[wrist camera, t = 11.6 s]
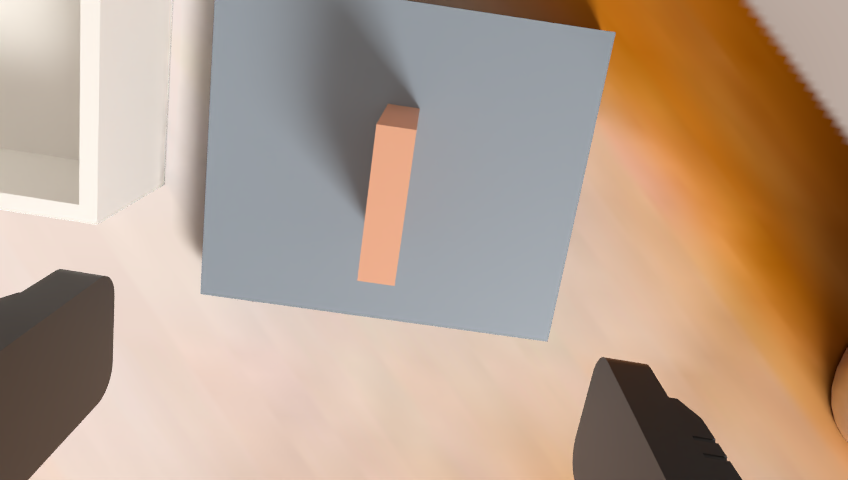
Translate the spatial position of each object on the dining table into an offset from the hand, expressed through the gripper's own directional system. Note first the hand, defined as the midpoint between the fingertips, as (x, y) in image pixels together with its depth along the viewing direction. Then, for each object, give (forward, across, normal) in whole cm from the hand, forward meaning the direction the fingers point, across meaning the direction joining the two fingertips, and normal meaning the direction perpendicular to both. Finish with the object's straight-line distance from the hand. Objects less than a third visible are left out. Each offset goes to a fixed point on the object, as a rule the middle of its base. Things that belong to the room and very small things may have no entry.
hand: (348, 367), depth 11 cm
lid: (+18, 0, 0) cm, 18 cm away
